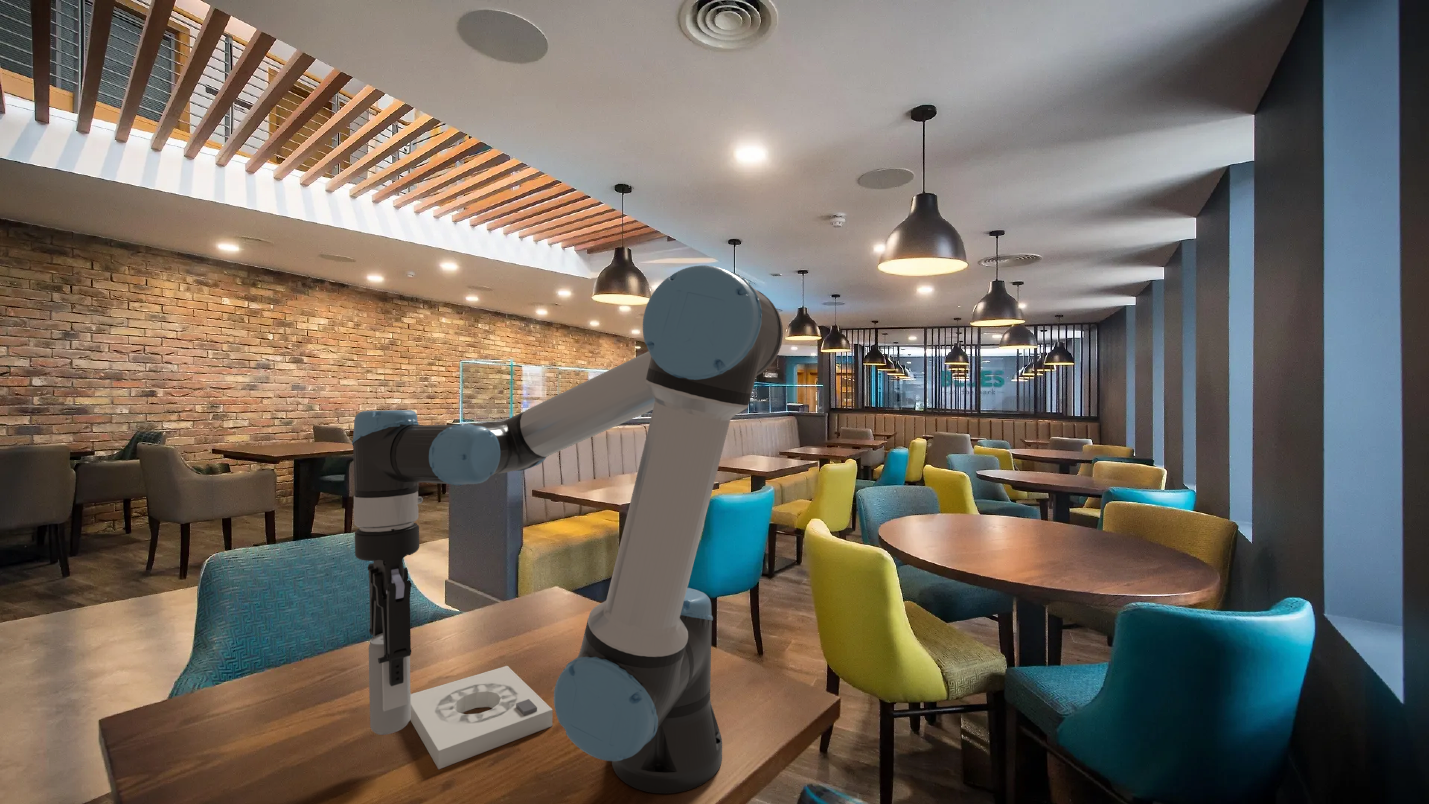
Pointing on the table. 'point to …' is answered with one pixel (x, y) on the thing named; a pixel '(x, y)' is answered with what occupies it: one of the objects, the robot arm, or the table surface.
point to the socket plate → (477, 715)
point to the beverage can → (382, 719)
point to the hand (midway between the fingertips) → (390, 698)
